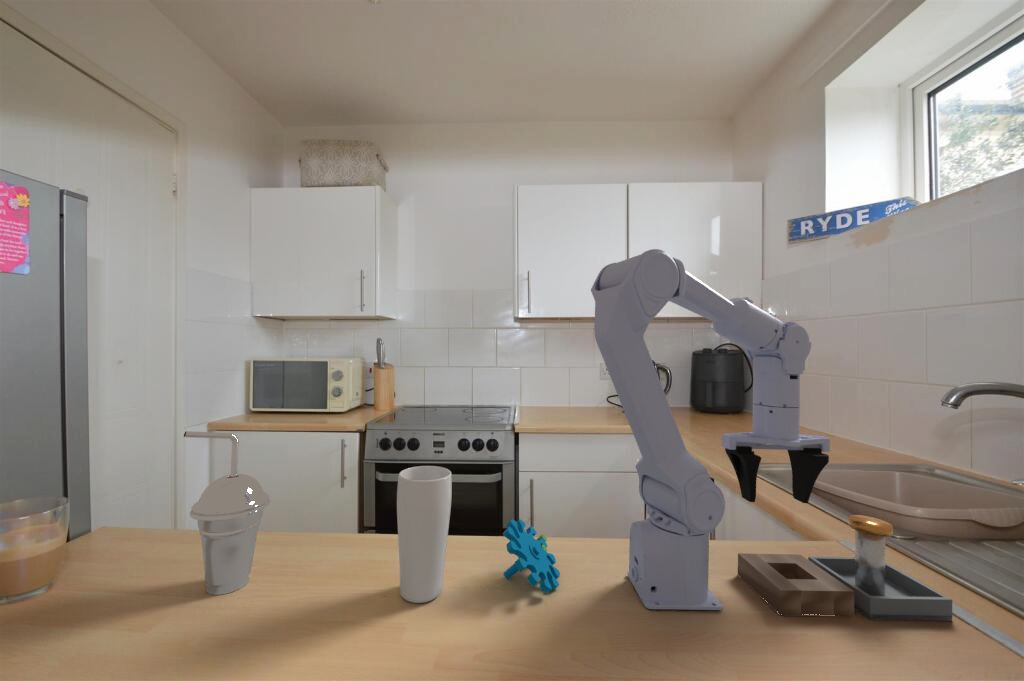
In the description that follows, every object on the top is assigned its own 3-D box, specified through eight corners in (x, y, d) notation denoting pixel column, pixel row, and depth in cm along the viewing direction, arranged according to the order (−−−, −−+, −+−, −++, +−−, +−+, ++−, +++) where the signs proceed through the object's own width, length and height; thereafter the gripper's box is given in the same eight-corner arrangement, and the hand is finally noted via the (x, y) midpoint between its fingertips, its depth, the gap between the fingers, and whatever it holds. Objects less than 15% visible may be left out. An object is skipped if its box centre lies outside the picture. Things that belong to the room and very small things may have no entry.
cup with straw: (256, 598, 50) (264, 432, 50) (166, 611, 47) (175, 434, 48) (274, 563, 58) (280, 420, 58) (197, 572, 55) (205, 422, 56)
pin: (868, 600, 52) (868, 528, 52) (839, 581, 56) (840, 514, 57) (902, 601, 52) (902, 529, 52) (871, 581, 56) (871, 515, 57)
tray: (870, 619, 49) (870, 598, 49) (808, 574, 59) (808, 556, 59) (952, 620, 49) (952, 599, 49) (876, 575, 59) (876, 557, 59)
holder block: (780, 615, 49) (780, 590, 49) (737, 574, 58) (737, 553, 58) (854, 616, 50) (854, 591, 50) (800, 575, 59) (800, 554, 59)
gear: (550, 599, 49) (500, 525, 52) (515, 628, 50) (468, 553, 53) (573, 568, 59) (529, 507, 63) (543, 592, 60) (502, 531, 63)
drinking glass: (458, 586, 54) (462, 470, 54) (427, 615, 48) (431, 484, 48) (416, 573, 56) (420, 462, 57) (381, 599, 50) (386, 475, 51)
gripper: (742, 407, 55) (740, 509, 55) (848, 410, 56) (847, 512, 55) (715, 401, 63) (713, 491, 62) (809, 403, 63) (808, 493, 62)
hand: (774, 500), depth 59 cm, fingers open, 7 cm apart
